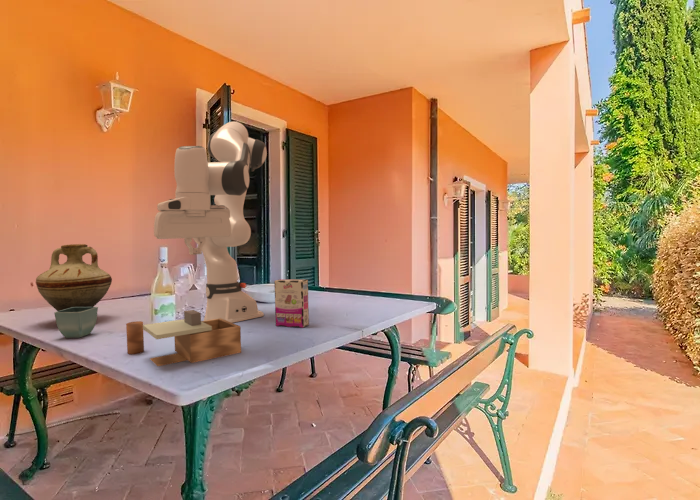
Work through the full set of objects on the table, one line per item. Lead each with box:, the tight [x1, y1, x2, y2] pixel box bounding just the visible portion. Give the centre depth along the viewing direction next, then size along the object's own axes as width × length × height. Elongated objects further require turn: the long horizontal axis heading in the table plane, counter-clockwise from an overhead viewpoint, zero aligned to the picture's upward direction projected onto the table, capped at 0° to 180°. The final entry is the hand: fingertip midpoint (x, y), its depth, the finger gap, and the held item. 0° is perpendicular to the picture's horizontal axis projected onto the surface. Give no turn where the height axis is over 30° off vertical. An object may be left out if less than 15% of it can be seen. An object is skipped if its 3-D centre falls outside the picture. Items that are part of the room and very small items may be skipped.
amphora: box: [35, 243, 113, 312], centre depth 150 cm, size 24×24×30 cm
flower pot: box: [54, 306, 99, 339], centre depth 130 cm, size 9×9×9 cm
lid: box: [143, 309, 212, 340], centre depth 102 cm, size 13×14×4 cm
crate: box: [149, 318, 242, 367], centre depth 105 cm, size 20×14×8 cm
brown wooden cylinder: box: [125, 320, 145, 355], centre depth 107 cm, size 4×4×9 cm
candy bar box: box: [273, 278, 310, 329], centre depth 140 cm, size 11×5×16 cm, turn 71°
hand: (195, 254), depth 110 cm, fingers closed
